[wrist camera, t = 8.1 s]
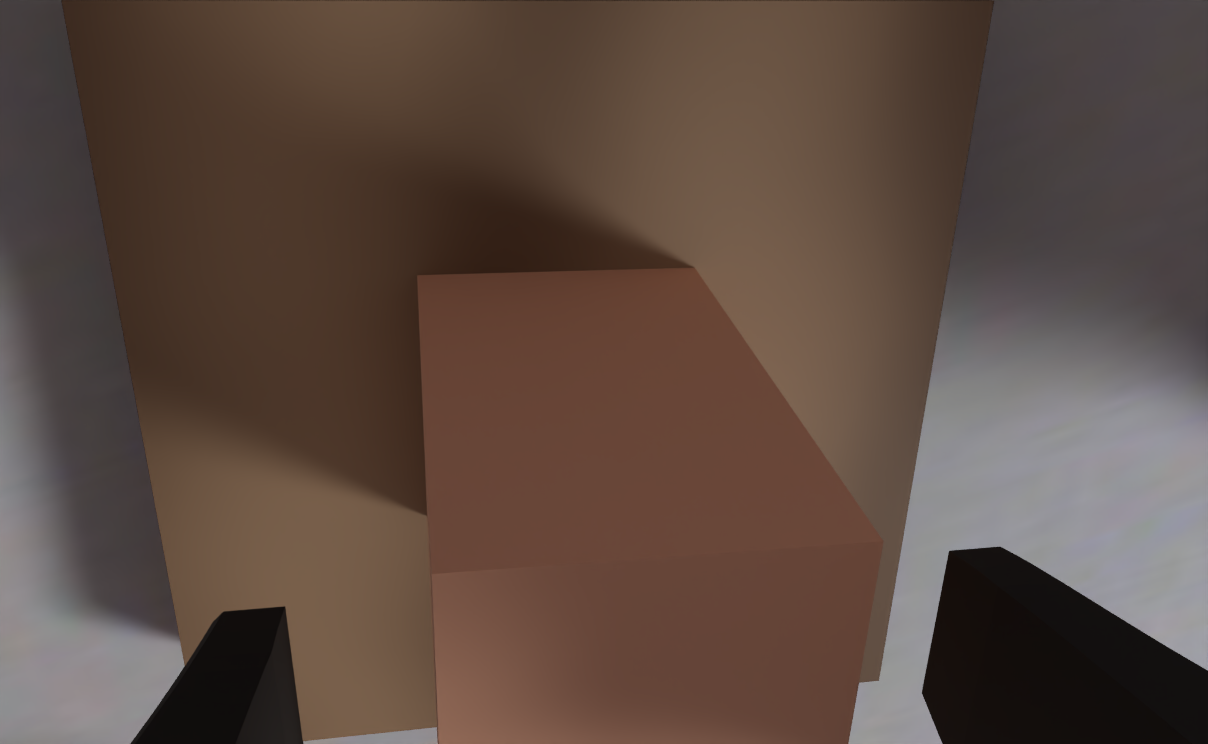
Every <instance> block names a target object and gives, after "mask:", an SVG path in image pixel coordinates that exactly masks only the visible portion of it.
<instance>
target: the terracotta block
mask: <svg viewBox="0 0 1208 744" xmlns="http://www.w3.org/2000/svg"><path fill="white" fill-rule="evenodd" d="M417 285H418V309H419V333H420V357H421V381H422V405H423V429H424V453H425V477H426V501H427V524H428V545H429V567H430V588H431V610H432V631H433V652H434V674H435V695H436V717H437V738H438V744H848V742H849V736H850V730H851V725H852V719H853V713H854V708H855V702H856V696H857V691H858V685H859V679H860V673H861V668H862V662H863V656H864V651H865V645H866V639H867V633H868V628H869V622H870V616H871V611H872V605H873V599H874V593H875V588H876V582H877V576H878V571H879V565H880V559H881V554H882V548H883V542H884V541H883V540H882V538H881V537H880V535H879V534H878V532H877V531H876V530H875V528H874V527H873V525H872V524H871V522H870V521H869V519H868V518H867V517H866V515H865V514H864V512H863V511H862V509H861V508H860V506H859V505H858V504H857V502H856V501H855V499H854V498H853V496H852V495H851V493H850V492H849V490H848V489H847V488H846V486H845V485H844V483H843V482H842V480H841V479H840V477H839V476H838V475H837V473H836V472H835V470H834V469H833V467H832V466H831V464H830V463H829V461H828V460H827V459H826V457H825V456H824V454H823V453H822V451H821V450H820V448H819V447H818V446H817V444H816V443H815V441H814V440H813V438H812V437H811V435H810V434H809V433H808V431H807V430H806V428H805V427H804V425H803V424H802V422H801V421H800V419H799V418H798V417H797V415H796V414H795V412H794V411H793V409H792V408H791V406H790V405H789V404H788V402H787V401H786V399H785V398H784V396H783V395H782V393H781V392H780V390H779V389H778V388H777V386H776V385H775V383H774V382H773V380H772V379H771V377H770V376H769V375H768V373H767V372H766V370H765V369H764V367H763V366H762V364H761V363H760V362H759V360H758V359H757V357H756V356H755V354H754V353H753V351H752V350H751V348H750V347H749V346H748V344H747V343H746V341H745V340H744V338H743V337H742V335H741V334H740V333H739V331H738V330H737V328H736V327H735V325H734V324H733V322H732V321H731V319H730V318H729V317H728V315H727V314H726V312H725V311H724V309H723V308H722V306H721V305H720V304H719V302H718V301H717V299H716V298H715V296H714V295H713V293H712V292H711V291H710V289H709V288H708V286H707V285H706V283H705V282H704V280H703V279H702V277H701V276H700V275H699V273H698V272H697V270H696V269H695V268H663V269H626V270H590V271H553V272H516V273H480V274H443V275H417Z"/></svg>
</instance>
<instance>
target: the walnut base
mask: <svg viewBox="0 0 1208 744" xmlns="http://www.w3.org/2000/svg"><path fill="white" fill-rule="evenodd" d="M993 4H994V1H992V0H62V6H63V12H64V17H65V23H66V28H67V33H68V39H69V44H70V50H71V55H72V60H73V66H74V71H75V77H76V82H77V87H78V93H79V98H80V103H81V109H82V114H83V120H84V125H85V130H86V136H87V141H88V147H89V152H90V157H91V163H92V168H93V174H94V179H95V184H96V190H97V195H98V200H99V206H100V211H101V217H102V222H103V227H104V233H105V238H106V244H107V249H108V254H109V260H110V265H111V271H112V276H113V281H114V287H115V292H116V297H117V303H118V308H119V314H120V319H121V324H122V330H123V335H124V341H125V346H126V351H127V357H128V362H129V368H130V373H131V378H132V384H133V389H134V394H135V400H136V405H137V411H138V416H139V421H140V427H141V432H142V438H143V443H144V448H145V454H146V459H147V465H148V470H149V475H150V481H151V486H152V491H153V497H154V502H155V508H156V513H157V518H158V524H159V529H160V535H161V540H162V545H163V551H164V556H165V562H166V567H167V572H168V578H169V583H170V588H171V594H172V599H173V605H174V610H175V615H176V621H177V626H178V632H179V637H180V642H181V648H182V653H183V659H184V664H185V665H186V664H187V662H188V661H189V659H190V657H191V656H192V654H193V653H194V651H195V650H196V648H197V647H198V645H199V643H200V642H201V640H202V639H203V637H204V635H205V634H206V632H207V631H208V629H209V627H210V626H211V624H212V622H213V621H214V620H215V619H216V618H217V617H218V616H219V615H220V614H221V613H222V612H223V611H235V610H247V609H259V608H271V607H283V606H285V608H286V616H287V623H288V631H289V639H290V646H291V654H292V662H293V669H294V677H295V685H296V692H297V700H298V708H299V715H300V723H301V731H302V738H303V741H308V740H318V739H328V738H337V737H347V736H356V735H366V734H375V733H385V732H394V731H404V730H413V729H423V728H432V727H437V717H436V695H435V674H434V652H433V631H432V610H431V588H430V567H429V545H428V524H427V501H426V477H425V453H424V429H423V405H422V381H421V357H420V333H419V309H418V285H417V275H443V274H480V273H516V272H553V271H590V270H626V269H663V268H695V269H696V270H697V272H698V273H699V275H700V276H701V277H702V279H703V280H704V282H705V283H706V285H707V286H708V288H709V289H710V291H711V292H712V293H713V295H714V296H715V298H716V299H717V301H718V302H719V304H720V305H721V306H722V308H723V309H724V311H725V312H726V314H727V315H728V317H729V318H730V319H731V321H732V322H733V324H734V325H735V327H736V328H737V330H738V331H739V333H740V334H741V335H742V337H743V338H744V340H745V341H746V343H747V344H748V346H749V347H750V348H751V350H752V351H753V353H754V354H755V356H756V357H757V359H758V360H759V362H760V363H761V364H762V366H763V367H764V369H765V370H766V372H767V373H768V375H769V376H770V377H771V379H772V380H773V382H774V383H775V385H776V386H777V388H778V389H779V390H780V392H781V393H782V395H783V396H784V398H785V399H786V401H787V402H788V404H789V405H790V406H791V408H792V409H793V411H794V412H795V414H796V415H797V417H798V418H799V419H800V421H801V422H802V424H803V425H804V427H805V428H806V430H807V431H808V433H809V434H810V435H811V437H812V438H813V440H814V441H815V443H816V444H817V446H818V447H819V448H820V450H821V451H822V453H823V454H824V456H825V457H826V459H827V460H828V461H829V463H830V464H831V466H832V467H833V469H834V470H835V472H836V473H837V475H838V476H839V477H840V479H841V480H842V482H843V483H844V485H845V486H846V488H847V489H848V490H849V492H850V493H851V495H852V496H853V498H854V499H855V501H856V502H857V504H858V505H859V506H860V508H861V509H862V511H863V512H864V514H865V515H866V517H867V518H868V519H869V521H870V522H871V524H872V525H873V527H874V528H875V530H876V531H877V532H878V534H879V535H880V537H881V538H882V540H883V541H884V542H883V548H882V554H881V559H880V565H879V571H878V576H877V582H876V588H875V593H874V599H873V605H872V611H871V616H870V622H869V628H868V633H867V639H866V645H865V651H864V656H863V662H862V668H861V673H860V679H859V683H860V682H869V681H879V676H880V670H881V665H882V659H883V653H884V647H885V641H886V635H887V629H888V623H889V617H890V611H891V606H892V600H893V594H894V588H895V582H896V576H897V570H898V564H899V558H900V552H901V547H902V541H903V535H904V529H905V523H906V517H907V511H908V505H909V499H910V493H911V488H912V482H913V476H914V470H915V464H916V458H917V452H918V446H919V440H920V435H921V429H922V423H923V417H924V411H925V405H926V399H927V393H928V387H929V381H930V376H931V370H932V364H933V358H934V352H935V346H936V340H937V334H938V328H939V322H940V317H941V311H942V305H943V299H944V293H945V287H946V281H947V275H948V269H949V263H950V258H951V252H952V246H953V240H954V234H955V228H956V222H957V216H958V210H959V204H960V199H961V193H962V187H963V181H964V175H965V169H966V163H967V157H968V151H969V145H970V140H971V134H972V128H973V122H974V116H975V110H976V104H977V98H978V92H979V87H980V81H981V75H982V69H983V63H984V57H985V51H986V45H987V39H988V33H989V28H990V22H991V16H992V10H993Z"/></svg>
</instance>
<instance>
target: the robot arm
mask: <svg viewBox="0 0 1208 744" xmlns="http://www.w3.org/2000/svg"><path fill="white" fill-rule="evenodd" d="M922 694H923V697H924V699H925V702H926V704H927V707H928V709H929V712H930V714H931V717H932V719H933V721H934V724H935V726H936V729H937V731H938V734H939V736H940V739H941V741H942V743H943V744H1208V671H1207V670H1206V669H1204V668H1202V667H1200V666H1199V665H1197V664H1195V663H1194V662H1192V661H1190V660H1188V659H1187V658H1185V657H1183V656H1182V655H1180V654H1178V653H1177V652H1175V651H1173V650H1172V649H1170V648H1168V647H1166V646H1165V645H1163V644H1162V643H1160V642H1158V641H1157V640H1155V639H1153V638H1152V637H1150V636H1148V635H1147V634H1145V633H1143V632H1142V631H1140V630H1138V629H1137V628H1135V627H1134V626H1132V625H1130V624H1129V623H1127V622H1125V621H1124V620H1122V619H1121V618H1119V617H1117V616H1116V615H1114V614H1112V613H1111V612H1109V611H1108V610H1106V609H1104V608H1103V607H1101V606H1100V605H1098V604H1096V603H1095V602H1093V601H1092V600H1090V599H1088V598H1087V597H1085V596H1083V595H1082V594H1080V593H1079V592H1077V591H1075V590H1074V589H1072V588H1071V587H1069V586H1067V585H1066V584H1064V583H1062V582H1061V581H1059V580H1057V579H1056V578H1054V577H1053V576H1051V575H1049V574H1048V573H1046V572H1044V571H1043V570H1041V569H1039V568H1038V567H1036V566H1034V565H1033V564H1031V563H1029V562H1027V561H1026V560H1024V559H1022V558H1020V557H1019V556H1017V555H1015V554H1013V553H1011V552H1009V551H1007V550H1005V549H1004V548H1002V547H990V548H978V549H966V550H954V551H949V555H948V560H947V565H946V570H945V575H944V581H943V586H942V591H941V596H940V601H939V606H938V612H937V617H936V622H935V627H934V632H933V638H932V643H931V648H930V653H929V658H928V664H927V669H926V674H925V679H924V684H923V689H922ZM131 744H303V738H302V731H301V723H300V715H299V708H298V700H297V692H296V685H295V677H294V669H293V662H292V654H291V646H290V639H289V631H288V623H287V616H286V608H285V606H283V607H271V608H259V609H247V610H235V611H223V612H222V613H221V614H220V615H219V616H218V617H217V618H216V619H215V620H214V621H213V622H212V624H211V626H210V627H209V629H208V631H207V632H206V634H205V635H204V637H203V639H202V640H201V642H200V643H199V645H198V647H197V648H196V650H195V651H194V653H193V654H192V656H191V657H190V659H189V661H188V662H187V664H186V665H185V667H184V668H183V670H182V671H181V673H180V674H179V676H178V677H177V679H176V680H175V682H174V683H173V685H172V686H171V688H170V689H169V691H168V692H167V693H166V695H165V696H164V698H163V699H162V701H161V702H160V704H159V705H158V707H157V708H156V709H155V711H154V712H153V714H152V715H151V716H150V718H149V719H148V720H147V722H146V723H145V725H144V726H143V727H142V729H141V730H140V731H139V733H138V734H137V735H136V737H135V738H134V740H133V741H132V742H131Z"/></svg>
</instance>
